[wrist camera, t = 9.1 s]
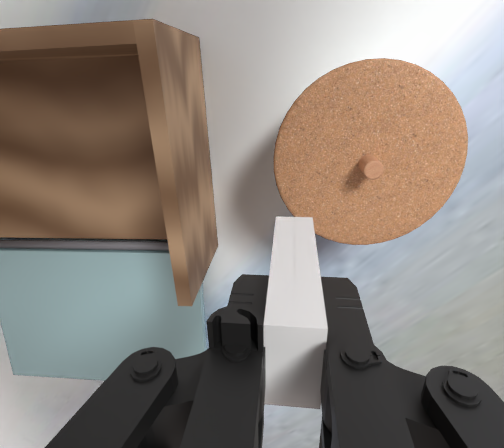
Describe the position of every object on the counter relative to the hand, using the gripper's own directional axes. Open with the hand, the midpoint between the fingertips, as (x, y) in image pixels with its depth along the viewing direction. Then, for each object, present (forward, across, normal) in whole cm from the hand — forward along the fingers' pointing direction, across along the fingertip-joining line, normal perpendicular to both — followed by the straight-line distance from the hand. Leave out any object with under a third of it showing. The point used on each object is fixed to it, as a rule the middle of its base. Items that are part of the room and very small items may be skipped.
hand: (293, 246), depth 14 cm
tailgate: (+13, -19, -8) cm, 24 cm away
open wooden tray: (+14, -19, 0) cm, 24 cm away
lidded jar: (+15, +4, +2) cm, 15 cm away
